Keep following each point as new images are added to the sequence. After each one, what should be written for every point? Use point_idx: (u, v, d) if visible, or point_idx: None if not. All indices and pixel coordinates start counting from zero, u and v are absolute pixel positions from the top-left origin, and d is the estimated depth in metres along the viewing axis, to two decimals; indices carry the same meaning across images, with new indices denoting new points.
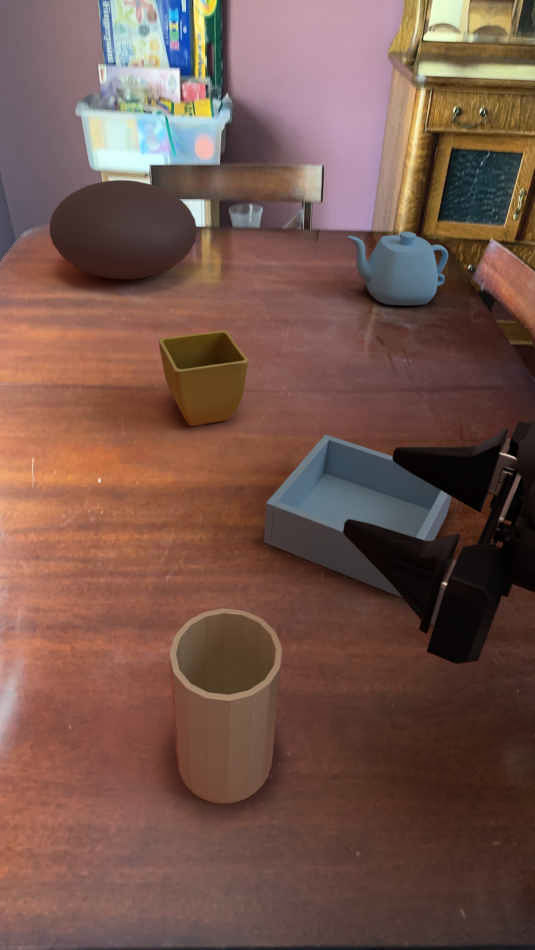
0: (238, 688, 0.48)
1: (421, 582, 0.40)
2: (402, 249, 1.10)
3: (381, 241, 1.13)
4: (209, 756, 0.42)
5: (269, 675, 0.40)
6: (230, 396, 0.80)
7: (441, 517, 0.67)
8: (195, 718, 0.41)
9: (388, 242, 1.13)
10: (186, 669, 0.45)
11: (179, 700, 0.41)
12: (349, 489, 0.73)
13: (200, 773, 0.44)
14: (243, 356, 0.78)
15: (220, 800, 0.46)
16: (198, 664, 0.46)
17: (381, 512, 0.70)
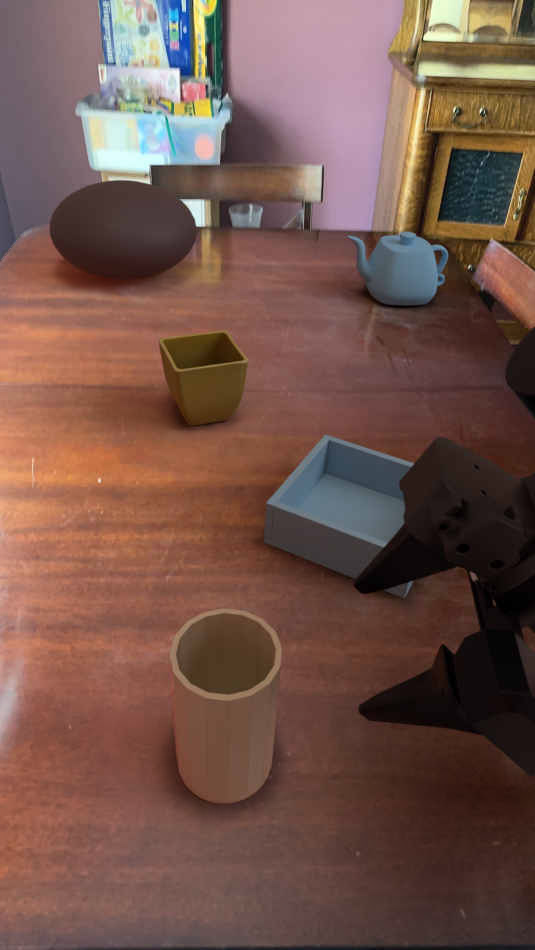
0: (238, 688, 0.48)
1: None
2: (402, 249, 1.10)
3: (381, 241, 1.13)
4: (209, 756, 0.42)
5: (269, 675, 0.40)
6: (230, 396, 0.80)
7: None
8: (195, 718, 0.41)
9: (388, 242, 1.13)
10: (186, 669, 0.45)
11: (179, 700, 0.41)
12: (349, 489, 0.73)
13: (200, 773, 0.44)
14: (243, 356, 0.78)
15: (220, 800, 0.46)
16: (198, 664, 0.46)
17: (381, 512, 0.70)
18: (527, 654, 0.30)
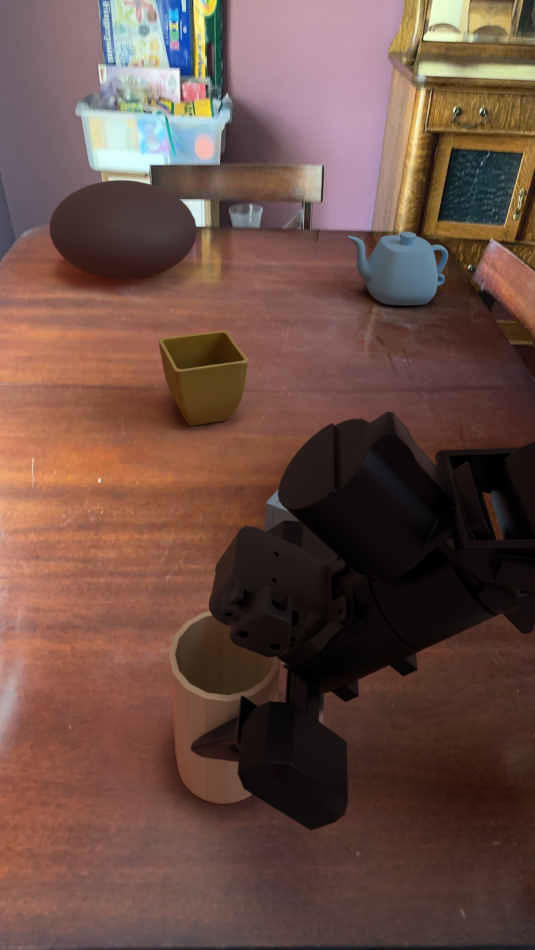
0: (238, 688, 0.48)
1: None
2: (402, 249, 1.10)
3: (381, 241, 1.13)
4: None
5: (268, 675, 0.40)
6: (230, 396, 0.80)
7: None
8: (194, 718, 0.40)
9: (388, 242, 1.13)
10: (186, 669, 0.45)
11: (178, 700, 0.41)
12: None
13: (199, 773, 0.44)
14: (243, 356, 0.78)
15: (219, 800, 0.46)
16: (197, 664, 0.46)
17: None
18: (305, 724, 0.35)
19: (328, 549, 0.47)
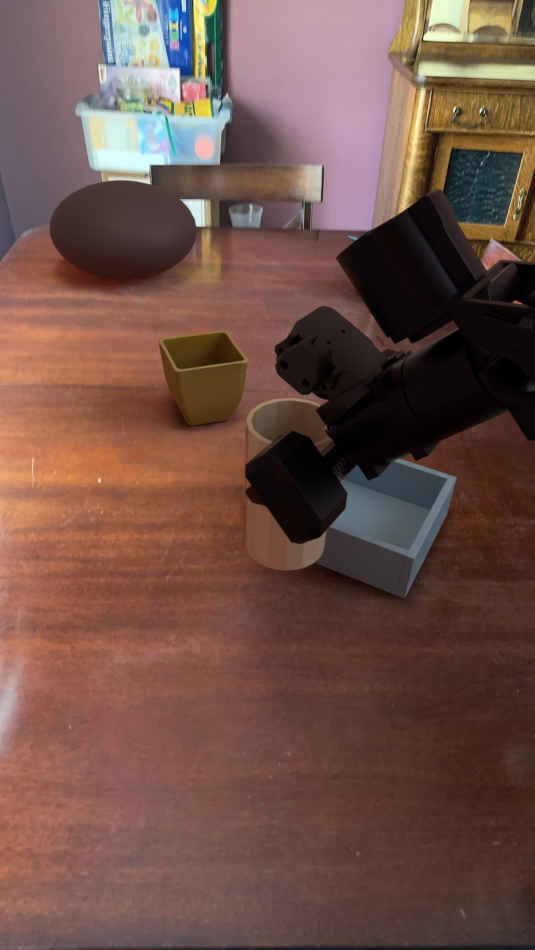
0: None
1: None
2: None
3: None
4: (258, 507, 0.51)
5: (315, 443, 0.47)
6: (230, 396, 0.80)
7: (441, 517, 0.67)
8: None
9: None
10: None
11: (246, 448, 0.50)
12: (349, 489, 0.73)
13: (252, 527, 0.53)
14: (243, 356, 0.78)
15: (263, 561, 0.54)
16: None
17: (381, 512, 0.70)
18: (311, 454, 0.42)
19: None
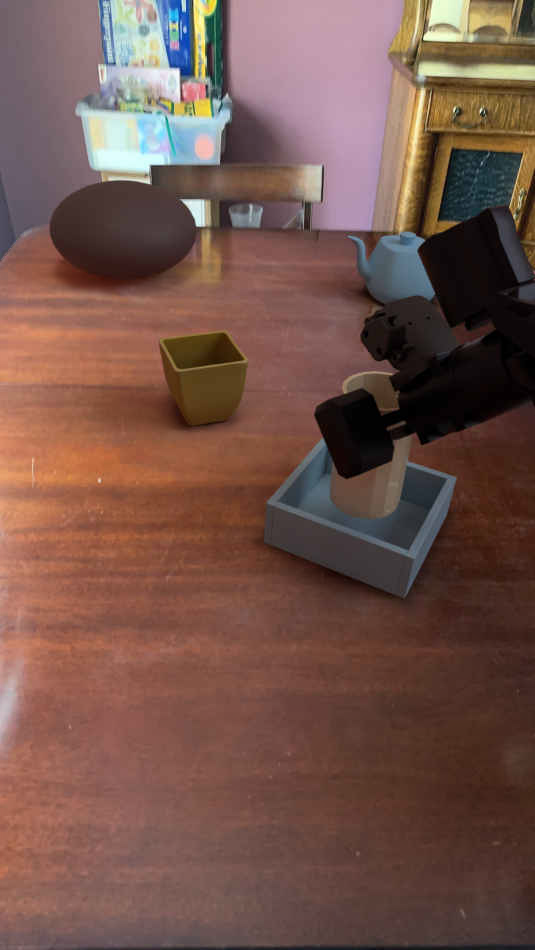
0: None
1: None
2: (402, 249, 1.10)
3: (381, 241, 1.13)
4: None
5: (390, 408, 0.57)
6: (230, 396, 0.80)
7: (441, 517, 0.67)
8: None
9: (388, 242, 1.13)
10: None
11: None
12: None
13: (334, 473, 0.64)
14: (243, 356, 0.78)
15: (338, 505, 0.64)
16: None
17: None
18: (370, 408, 0.51)
19: None
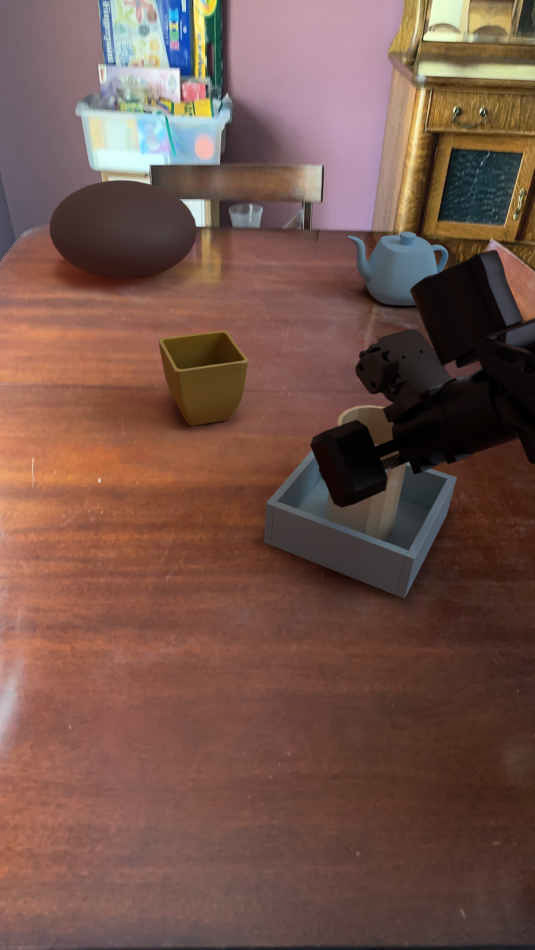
0: None
1: None
2: (402, 249, 1.10)
3: (381, 241, 1.13)
4: None
5: None
6: (230, 396, 0.80)
7: (441, 517, 0.67)
8: None
9: (388, 242, 1.13)
10: None
11: None
12: None
13: (330, 503, 0.66)
14: (243, 356, 0.78)
15: None
16: None
17: None
18: (364, 440, 0.53)
19: None
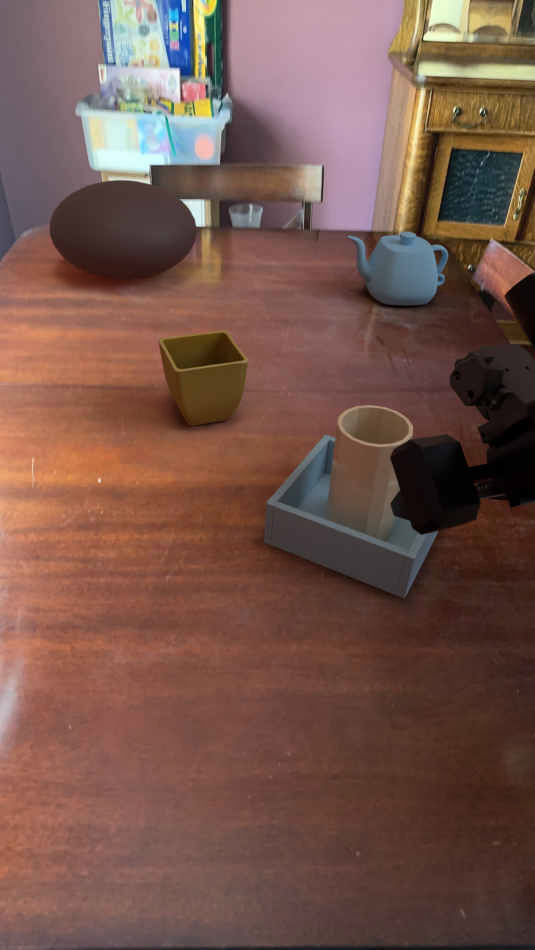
0: None
1: None
2: (402, 249, 1.10)
3: (381, 241, 1.13)
4: (335, 487, 0.64)
5: (384, 444, 0.59)
6: (230, 396, 0.80)
7: None
8: (336, 451, 0.62)
9: (388, 242, 1.13)
10: None
11: None
12: None
13: (330, 503, 0.66)
14: (243, 356, 0.78)
15: None
16: None
17: None
18: (455, 455, 0.45)
19: None
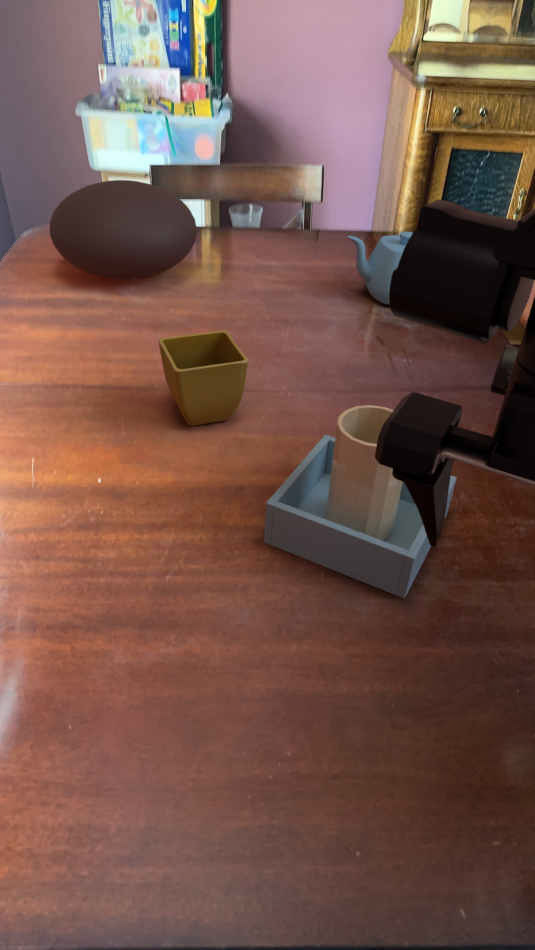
0: None
1: None
2: (402, 249, 1.10)
3: (381, 241, 1.13)
4: (335, 487, 0.64)
5: None
6: (230, 396, 0.80)
7: None
8: (336, 451, 0.62)
9: (388, 242, 1.13)
10: None
11: None
12: None
13: (330, 503, 0.66)
14: (243, 356, 0.78)
15: None
16: None
17: None
18: (446, 408, 0.44)
19: None
